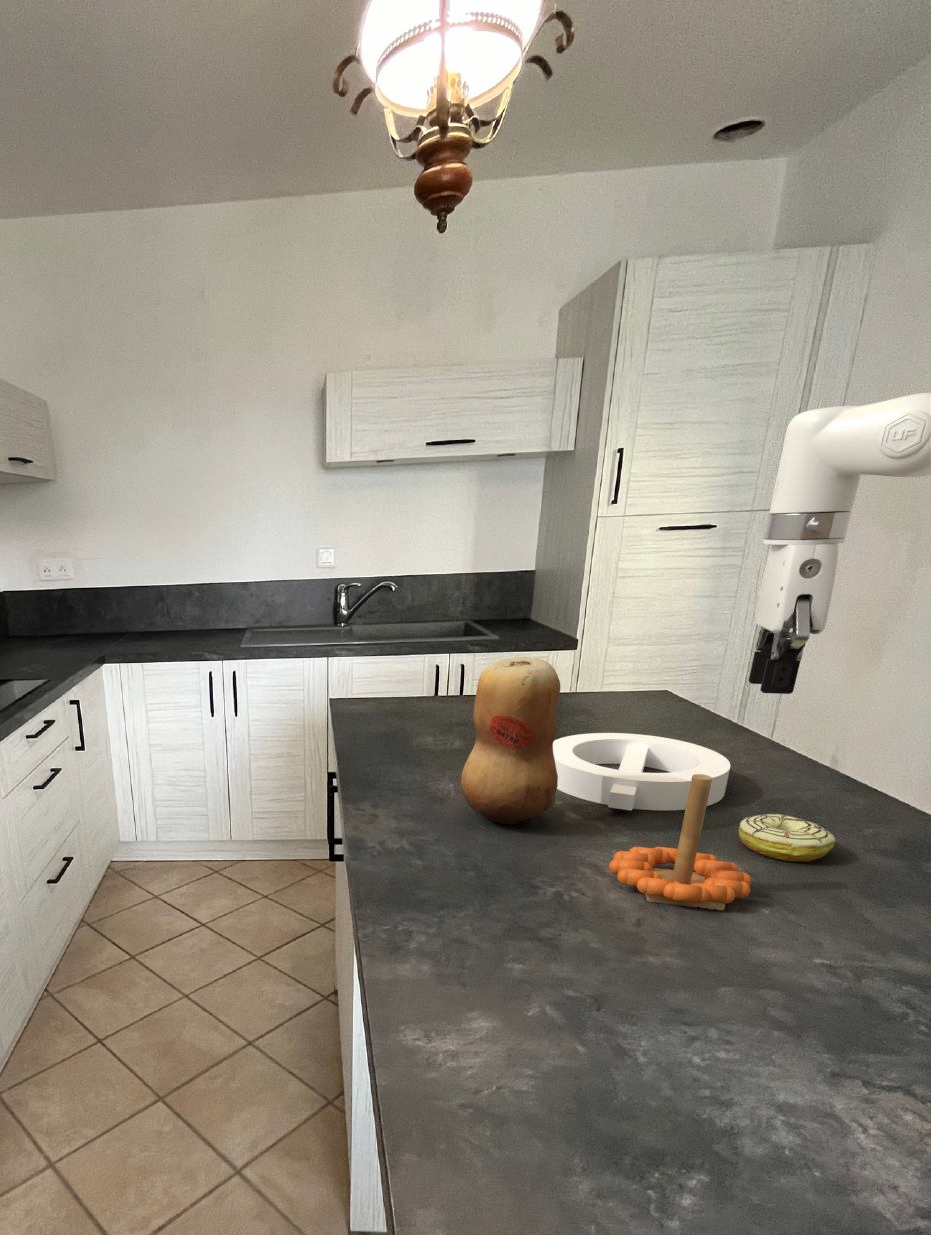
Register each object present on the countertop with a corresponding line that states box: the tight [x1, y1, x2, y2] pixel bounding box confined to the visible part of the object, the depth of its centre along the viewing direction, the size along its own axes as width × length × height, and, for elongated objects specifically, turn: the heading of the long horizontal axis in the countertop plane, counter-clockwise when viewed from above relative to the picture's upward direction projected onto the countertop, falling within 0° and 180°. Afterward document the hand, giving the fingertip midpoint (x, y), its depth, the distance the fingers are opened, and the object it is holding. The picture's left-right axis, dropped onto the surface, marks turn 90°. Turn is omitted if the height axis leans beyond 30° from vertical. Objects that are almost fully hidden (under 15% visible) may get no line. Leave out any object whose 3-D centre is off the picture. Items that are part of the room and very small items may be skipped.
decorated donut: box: [738, 813, 836, 863], centre depth 99 cm, size 10×11×4 cm
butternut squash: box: [460, 656, 561, 825], centre depth 108 cm, size 14×13×25 cm
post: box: [644, 774, 726, 912], centre depth 87 cm, size 8×8×15 cm
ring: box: [608, 846, 753, 904], centre depth 90 cm, size 16×13×2 cm
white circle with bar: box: [553, 732, 731, 811], centre depth 126 cm, size 28×28×5 cm
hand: (769, 686), depth 89 cm, fingers open, 4 cm apart
